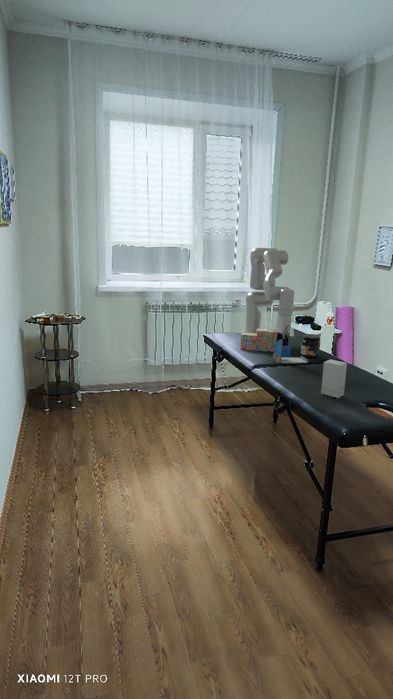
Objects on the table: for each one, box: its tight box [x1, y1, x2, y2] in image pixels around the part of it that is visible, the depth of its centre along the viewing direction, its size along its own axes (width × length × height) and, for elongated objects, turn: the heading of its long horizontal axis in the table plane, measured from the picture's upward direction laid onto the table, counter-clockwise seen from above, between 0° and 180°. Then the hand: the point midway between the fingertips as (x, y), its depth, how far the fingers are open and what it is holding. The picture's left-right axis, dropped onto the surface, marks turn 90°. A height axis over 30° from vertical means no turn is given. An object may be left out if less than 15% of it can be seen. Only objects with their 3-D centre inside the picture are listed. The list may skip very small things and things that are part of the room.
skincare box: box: [320, 359, 348, 399], centre depth 201 cm, size 8×7×16 cm
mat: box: [280, 355, 309, 364], centre depth 254 cm, size 9×16×2 cm, turn 100°
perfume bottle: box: [273, 334, 293, 358], centre depth 251 cm, size 6×6×12 cm
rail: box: [272, 352, 283, 364], centre depth 253 cm, size 10×1×3 cm, turn 10°
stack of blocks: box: [239, 328, 278, 353], centre depth 274 cm, size 21×6×12 cm, turn 85°
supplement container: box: [300, 333, 321, 359], centre depth 264 cm, size 10×10×12 cm
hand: (282, 343), depth 251 cm, fingers open, 8 cm apart
